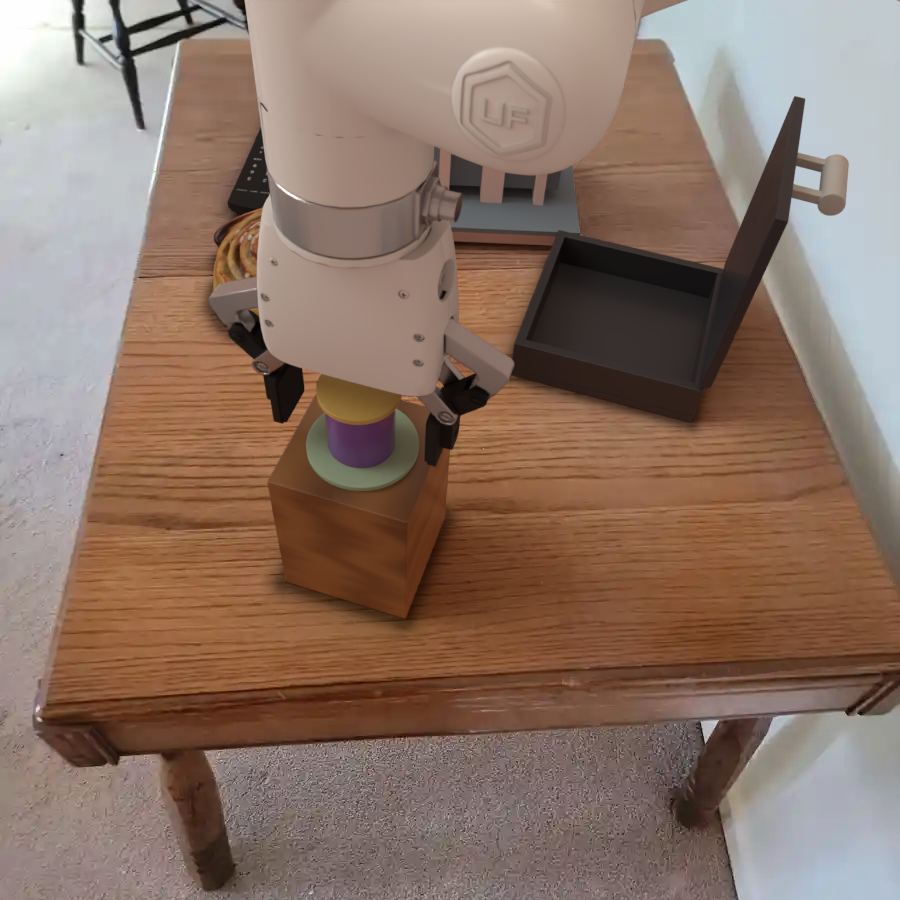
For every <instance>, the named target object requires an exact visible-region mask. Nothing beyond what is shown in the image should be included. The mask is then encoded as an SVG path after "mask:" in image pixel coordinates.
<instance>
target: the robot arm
mask: <svg viewBox="0 0 900 900" xmlns="http://www.w3.org/2000/svg"><path fill="white" fill-rule="evenodd" d="M687 1H688V0H244V7H245V13H246V14H245V15H246V20H247V29H248V37H249V44H250V52H251V60H252V69H253V74H254V75H253V76H254V82H255V84H254V85H255V89H256V98H257V99H256V100H257V106H258V113H259V121H260V128H261V129H262V137H263V145H264V152H265V160H266V166H267V174H268V182H269V190H270V195H269V197H268V198H267V200H266V202H265V203H264V206H263V210H262V216H261V222H260V231H259V240H258V253H257V277H251V278H246V279H241V280H235V281H230V282H225V283H221V284H219V285H218V286H217V288H216V289H215V290H214V292H213V291H212V293H211V294H210V296H209V297H208V299H207V302H208V305H209V306H210V308H211V309H212V310H213V312H214V313H215V314H216V316H217V318H218V319H219V318H220V319H219V320H220V322H221V323H222V324H223V325H224V326H226V325H227V326H228V327H227V326H226V327H227V328H228V330H227V334H228V337H229V338H230V339H231V340H232V341H233V342H234V343H235V344H236V345H237V346H238V347H239V348H240V349H242V350H243V351H244V352H245V353H246V354H247V355H248V356H249V357H250V358H251V359H253V360H252V361H251V367H252V369H253V370H254V371H255V372H256V373H257V374H259V375H262V376H263V377H262V378H263V383H264V390H265V394H266V399H267V400H269V401H270V407H271V413H272V419H273V422H274V423H278V424H281V425H282V424H283V425H284V423H287V422H288V421H289V420H290V417H291V416H292V414H293V412H294V410H295V408H296V407H297V406H298V403H299V402H300V400H301V398H302V396H303V395H304V393H305V379H304V371H303V370H307V371H309V372H313V373H317V374H320V375H321V374H324V375H327V376H331V377H335V378H338V379H342V380H345V381H349V382H353V383H357V384H360V385H364V386H368V387H372V388H376V389H380V390H384V391H388V392H391V393H396V394H400V395H402V396H406V397H416V398H417V399H418V400H419V402H421V403H422V405H423V406H425V407H426V408H427V409H428V410H429V411H430V414H429V416H428V419H427V421H426V429H425V456H424V461H425V462H427V465H431V466H434V467H436V465H437V463H438V460H439V458H440V456H441V453H442V451H443V448H446V449H449V450H450V451H452V450H453V449H454V447H455V445H456V443H457V439H458V437H459V431H460V427H461V426H460V424H461V416H464V415H466V414H468V413H471V412H474V411H476V410H479V409H481V408H484V407H486V406H487V403H488V401H489V400H490V399H492V398H493V397H494V396H496V395H497V394H498V393H499V392H500V391H501V390H503V388H504V387H505V386H507V385H508V384H509V382H510V380H511V377H512V376H513V375H512V372H513V369H514V367H515V363H514V361H513V360H512V357H511V356H508V355H507V354H505V353H504V352H502V351H501V350H500V349H498V348H496V347H495V346H494V345H492V344H491V343H489V342H487V341H486V340H484V339H483V338H482V337H480V336H478V335H477V334H475V333H474V332H473V331H471V330H470V329H468V328H467V327H465V326H464V325H462V324H461V323H460V294H459V293H460V292H459V291H460V290H459V274H458V265H457V255H456V248H455V247H456V246H455V241H454V240H453V235H452V230H451V225H450V222H457V220H458V218H459V215H460V212H461V208H462V202H463V195H462V193H458V192H454V191H450V190H448V188H447V187H446V186H442V185H441V183H440V179H439V178H438V162H437V161H434V146H435V147H437V148H440V149H442V150H444V151H446V152H449V153H451V154H453V155H456V156H458V157H460V158H463V159H465V160H468V161H470V162H473V163H476V164H479V165H481V166H484V167H487V168H490V169H494V170H497V171H501V172H506V173H511V174H519V175H544V174H550V173H554V172H558V171H561V170H564V169H566V168H568V167H570V166H572V167H573V166H574V165H576V164H578V163H580V162H581V161H582V160H584V159H585V158H586V157H588V156H589V155H590V154H591V153H592V152H593V151H594V150H595V149H596V147H598V146H599V145H600V143H601V142H602V141H603V139H604V138H605V136H606V135H607V133H608V132H609V130H610V128H611V126H612V124H613V121H614V119H615V117H616V115H617V112H618V109H619V107H620V103H621V99H622V96H623V92H624V88H625V84H626V79H627V75H628V71H629V65H630V63H631V57H632V52H633V50H634V49H633V48H634V45H635V42H636V39H637V35H638V34H637V33H638V29H639V25H640V20H641V19H643V18H644V17H647V16H649V15H652V14H654V13H657V12H659V11H663V10H666V9H668V8H670V7H673V6H676V5H679V4H681V3H685V2H687ZM896 1H897V2H899V3H900V0H896ZM253 308H258V309H259V316H258V315H257V314H255V313H254V312H253V311H251V310H249V309H253ZM449 357H450V358H451V359H453V360H455V361H456V362H458V363H460V364H461V365H462V366H463V367H465V368H467V369H468V370H470V371H471V372H473V373H472V374H470V375H467V376H465V375H463V373H462V372H461V371H460V370H459V368H458V367H457V366H456V364H455V363H453V361H452V360H451V359H450V358H449ZM438 382H440V384H442V386H441V388H439V386H438Z"/></svg>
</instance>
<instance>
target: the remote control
mask: <svg viewBox="0 0 900 900" xmlns="http://www.w3.org/2000/svg"><path fill="white" fill-rule="evenodd" d="M269 195H270V190H269V182H268V174H267V166H266V160H265V152H264V145H263V137H262V129H261V127H260V128H259V130H258V133H257V135H256V137H255V139H254V141H253V144H252V146H251V149H250V150H249V152H248V154H247V157H246V160H245V162H244V164H243V166H242V168H241V171H240V173H239V175H238V178H237V180H236V182H235V184H234V186H233V188H232V190H231V192H230V195H229V198H228V200H227V207H228V209H229V210H231V211H232V212H234V213H235V214H237V215H238V216H240V215H243V214H245V213H248V212H251V211H254V210H257V209H260V208H263V206H264V203H265V202H266V200H267V198H268V197H269Z"/></svg>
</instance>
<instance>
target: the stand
mask: <svg viewBox="0 0 900 900" xmlns="http://www.w3.org/2000/svg"><path fill="white" fill-rule="evenodd" d="M396 409H398V410H400V411H401V412H402V413H404V414H405V415H406V416H407V417H408V418H409V419H410V420H411V422H412V423H413V425H414V426H415V428H416V431H417V433H418V438H419V452H418V456H417V459H416V462H415V464H414V465H413V467H412V468H411V470H410V471H409V472H408V473H407V474H406V475H405V476H404V477H403V478H402V479H400V480H399V481H397V482H396V483H394V484H392V485H390V486H388V487H385V488H382V489H378V490H373V491H350V490H345V489H342V488H339V487H336V486H334V485H332V484H330V483H328V482H327V481H325V480H323V479H322V478H321V477H320V476H319V475H318V474H317V473H316V472H315V471H314V469H313V468H312V466H311V464H310V462H309V460H308V456H307V448H306V442H307V437H308V433H309V431H310V429H311V427H312V425H313V424H314V422H315V421H316V420H317V419H318V418H319V417H320V416H321V415H322V414H323V413H325V412H324V411H323V410H322V409H321V407H320V406H319V404H318V401H317V397H316V393H315V395H314V396H313V398H312V400H311V402H310V404H309V405H308V407H307V408H306V411H305V413H304V414H303V416H302V418H301V419H300V421H299V423H298V425H297V426H296V429H295V431H294V432H293V434H292V436H291V438H290V439H289V441H288V443H287V445H286V446H285V448H284V450H283V452H282V454H281V456H280V458H279V459H278V461H277V463H276V465H275V466H274V468H273V470H272V472H271V474H270V476H269V477H268V479H267V489H268V494H269V499H270V506H271V510H272V515H273V520H274V526H275V530H276V531H275V532H276V537H277V542H278V548H279V553H280V558H281V564H282V569H283V574H284V575H283V576H284V580H285V582H286V583H289V584H292V585H295V586H299V587H302V588H305V589H308V590H311V591H315V592H318V593H321V594H324V595H328V596H331V597H333V598H336V599H340V600H343V601H346V602H350V603H352V604H357V605H359V606H363V607H366V608H369V609H371V610H372V609H373V610H376V611H379V612H381V613H385V614H388V615H392V616H395V617H399V618H402V619H406V618H407V616H408V614H409V612H410V609H411V606H412V603H413V601H414V598H415V596H416V593H417V590H418V588H419V586H420V583H421V580H422V577H423V575H424V573H425V570H426V568H427V564H428V563H429V560H430V558H431V555H432V552H433V549H434V547H435V545H436V542H437V539H438V536H439V534H440V532H441V530H442V528H443V527H442V526H443V524H444V521H445V518H446V510H447V498H448V497H447V496H448V481H449V469H450V457H451V456H450V455H451V450H449V449H446V448H443V451H442V453H441V456H440V458H439V460H438V463H437V465H436V467H434V466H431V465H427V462H425V461H424V456H425V429H426V421H427V419H428V416H429V414H430V411H429V410H428V409H427V408H426V407H425V406H424V405H423V404H418V403H414V402H411V401H407V400H403V399H401V401H400V403H399V405H398V407H397V408H396Z"/></svg>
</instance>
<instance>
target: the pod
mask: <svg viewBox="0 0 900 900" xmlns="http://www.w3.org/2000/svg"><path fill="white" fill-rule="evenodd" d="M315 394H316V397H317V401H318V404H319V406H320V407H321V409H322V410H323V411H324V412H325V419H326V430H327V441H328V448H329V451H330V453H331V454H332V456H333V457H334V458H335V459H336V460H337V461H339V462H340V463H342V464H344V465H346V466H349V467H354V468H368V467H372V466H375V465H378V464H380V463H382V462H383V461H385V460H386V459H387V458H388V457H389V456H390V455H391V453H392V451H393V450H394V447H395V409H396V408H397V407H398V405H399V403H400V401H401V400H402V397H403V395H400V394H396V393H391V392H388V391H384V390H380V389H376V388H372V387H368V386H364V385H360V384H357V383H353V382H349V381H345V380H342V379H338V378H335V377H331V376H327V375H324V374H320V376H319V377H318V379H317V382H316V384H315Z"/></svg>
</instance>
